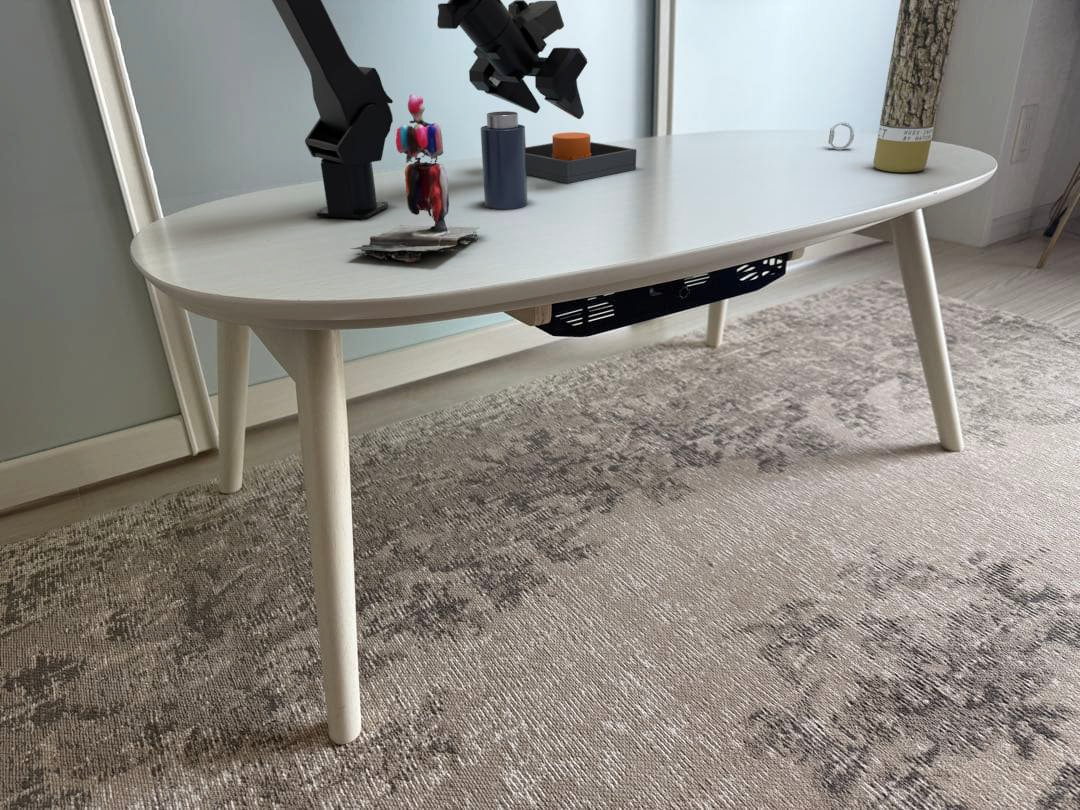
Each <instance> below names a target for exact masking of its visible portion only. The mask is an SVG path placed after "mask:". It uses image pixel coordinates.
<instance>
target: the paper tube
mask: <svg viewBox="0 0 1080 810" xmlns="http://www.w3.org/2000/svg"><path fill="white" fill-rule="evenodd" d="M959 5H960V0H900V4H899V9H898V14H897V20H896V26H895V31H894V38H893V44H892V49H891V56H890V60H889V61H890V62H889V67H888V73H887V79H886V84H885V90H884V97H883V102H882V109H881V113H880V120H879V124H878V125H879V126H878V130H877V131H878V132H877V139H876V145H875V151H874V157H873V166H874V168H875V169H877V170H879V171H884V172H889V173H902V174H903V173H905V174H906V173H916V172H921V171H922V170H924V169H925V168H926V167H927V162H928V158H929V154H930V149H931V143H932V139H933V136H934V135H933V134H934V130H935V125H936V120H937V115H938V109H939V104H940V99H941V94H942V91H943V84H944V80H945V75H946V69H947V65H948V59H949V55H950V51H951V46H952V45H951V44H952V41H953V35H954V30H955V25H956V19H957V15H958V11H959Z"/></svg>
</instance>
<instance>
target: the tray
mask: <svg viewBox="0 0 1080 810" xmlns="http://www.w3.org/2000/svg"><path fill="white" fill-rule="evenodd" d="M552 153H553V142H549V143H544V144H538V145H532V146H526V175H528V176H532V177H536V178H537V177H538V178H542V179H546V180H552V181H555V182H558V183H559V182H560V183H564V184H570V183H575V182H582V181H585V180H590V179H591V180H592V179H595V178H601V177H605V176H610V175H611V176H612V175H615V174H620V173H626V172H629V171H634V170H637V149H636V148H631V147H626V146H625V147H624V146H619V145H612V144H606V143H599V142H593V141H590V153H591V157H587V158H581V159H576V160H571V161H565V160H560V159H554V158H552Z"/></svg>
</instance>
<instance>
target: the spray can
mask: <svg viewBox="0 0 1080 810" xmlns="http://www.w3.org/2000/svg"><path fill="white" fill-rule="evenodd" d="M480 143H481V159H482V160H481V161H482V177H483V178H482V180H483V196H484V206H485V207H486V208H489V209H495V210H515V209H519V208H523V207H526V206H527V205H528V184H527V181H528V179H527V177H528V176H527V174H526V147H527V145H526V144H527V143H526V126H525V125H523V124H519V114H518V112H516V111H507V110H506V111H491V112H488V113H486V125H483V126H481V127H480Z"/></svg>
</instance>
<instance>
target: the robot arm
mask: <svg viewBox="0 0 1080 810" xmlns="http://www.w3.org/2000/svg"><path fill="white" fill-rule="evenodd" d="M271 1H272V3H273V5H274V7H275V9H276V11H277V13H278V15H279V16H280V18H281V21H282V22H283V23H284V26H285V28H286V30H287V31H288V34H289V35H290V37H291V39H292V41H293V43H294V45H295V46H296V48H297V50H298V52H299V54H300V56H301V58H302V60H303V62H304V63H305V65H306V67H307V69H308V71H309V74H310V77H311V88H312V96H313V101H314V104H315V106H316V109H317V111H318V114H319V118H318V120H317V121H316V122H315V124H314V126H312V129H311V130H310V132H309V133H308V134H307V137H305V139H304V143H305V145H306V148H307V150H308V151H309V153H310V156H311V157H312V158H319V159H321V160H320V170H321V176H322V183H323V189H324V195H325V202H326V203H325V204H326V207H324V208H322V209H319V210H317V211H316V217H323V218H325V217H326V218H327V217H328V218H345V219H347V218H348V219H367V218H370V217H371V216H373V215H375V214H377V213H379V212H381V211H383V210H384V209H386V208H388V207H389V202H388V201H377V194H376V187H375V186H376V185H375V177H374V176H375V175H374V168H373V163H375V162H380V161H382V159H383V154H384V148H385V144H386V140H387V139H386V138H387V137H388V136H389V133H390V131H391V128H392V124H393V122H394V117H393V113H392V110H391V109H392V108H391V106H390V104H393V102H394V100H393V99H392V98H391V97H390V96H389V95H388V94H387V92H386V90H385V88H384V86H383V83H382V80H381V76H380V74H379V71H378V70H377V69H376V68H375V67H369V66H368V67H367V66H358V65H357V64H356V63H355V62H354V61H353V60H352V58H351V57H350V55H349V54H348V51H347V49H346V48H345V46H344V43H343V42H342V40H341V37H340V35H339V34H338V31H337V29H336V27H335V25H334V23H333V21H332V19H331V17H330V15H329V13H328V11H327V9H326V7H325V5H324V3H323V1H322V0H271ZM507 7H508V8H507ZM437 9H438V15H437V28H438V29H440V30H443V29H444V30H456V29H458V28H459V27H460V28H461V30H462V31H463V32H464V33H465V34H466V36H467V37H468V38H469V39H470V40H471V42H472V43H473V45H475V46H476V47H475V48H474V50H473V52H472V53H473V54H474V55H475V56H476V57H477V58H476V59H475V61H474V63H473V64H472V66H471V67H470V69H469V70H468V75H469V77H468V78H469V82H470V83H471V84H472V86H473V87H474V88H475V89H476V90H477V91H481V92H484V93H485V94H487V95H491V96H493V97H496V98H497V99H500V100H503V101H505V102H508V103H510V104H512V105H514V106H516V107H519V108H522V109H523V110H526V111H528V112H531V113H532V114H538V112H539V111H540V109H541V106H540V104H539V102H538V101H537V99H536V97H535V96H534V93H532V91H531V90H530V88H529V86H528V85H527V83H526V81H525V80H524V78H525V77H534V80H535V82H534V83H535V85H534V86H535V89H536V90H537V91H538V93H539V94H541V95H542V96H544V98H543V99H544V100H545V101H546V102H548V103H550V104H551V105H553V106H554V107H557V109H560V110H561V111H563V112H565V113H566V114H568V115H570V116H572V117H574V118H575V119H577V120H580V119H582V118H583V116H584V114H585V110H584V107H583V104H582V99H581V97H580V91H579V87H578V81H577V80H578V78H579V77H580V76H581V74H582V73H583V70H584V69H585V67H586V66H587V64H588V59H587V57H586V56H585V54H584V53H583V51H582V50H581V49H580V47H561V46H560V47H553V48H552V50H551V51H550V53H549V55H548V56H547V57H544V56H543V57H542V56H540V55H539V54H540V53H542V52H544V50H545V48H546V47H547V46H548V44H547V42H546V41H545V40H546V39H547V38H549V37H550V36H551V35H553V34H554V33H555V32H557V31H560V30H563V28H564V27H565V23H564V21H563V16H562V14H561V11H560V8H559V4H558V1H557V0H538V1H535V2H529V3H527V1H525V0H513V1H512V2H510V3H509V4H508V5H507V6H506V5H505V4H504V2H503V1H502V0H448V1H447V2H444V3H438V4H437Z"/></svg>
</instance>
